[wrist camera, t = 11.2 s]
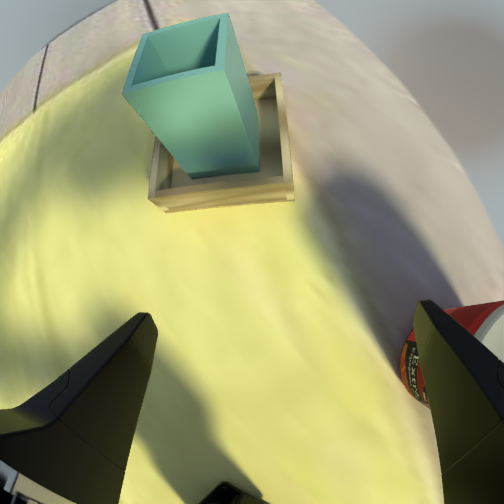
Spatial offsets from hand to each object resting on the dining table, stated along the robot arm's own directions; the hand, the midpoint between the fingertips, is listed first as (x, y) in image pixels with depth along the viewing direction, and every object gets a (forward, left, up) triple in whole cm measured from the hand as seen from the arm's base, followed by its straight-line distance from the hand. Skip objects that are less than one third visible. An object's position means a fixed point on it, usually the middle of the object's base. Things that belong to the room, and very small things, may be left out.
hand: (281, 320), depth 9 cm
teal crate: (+9, +13, -13) cm, 21 cm away
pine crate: (+9, +13, -14) cm, 21 cm away
